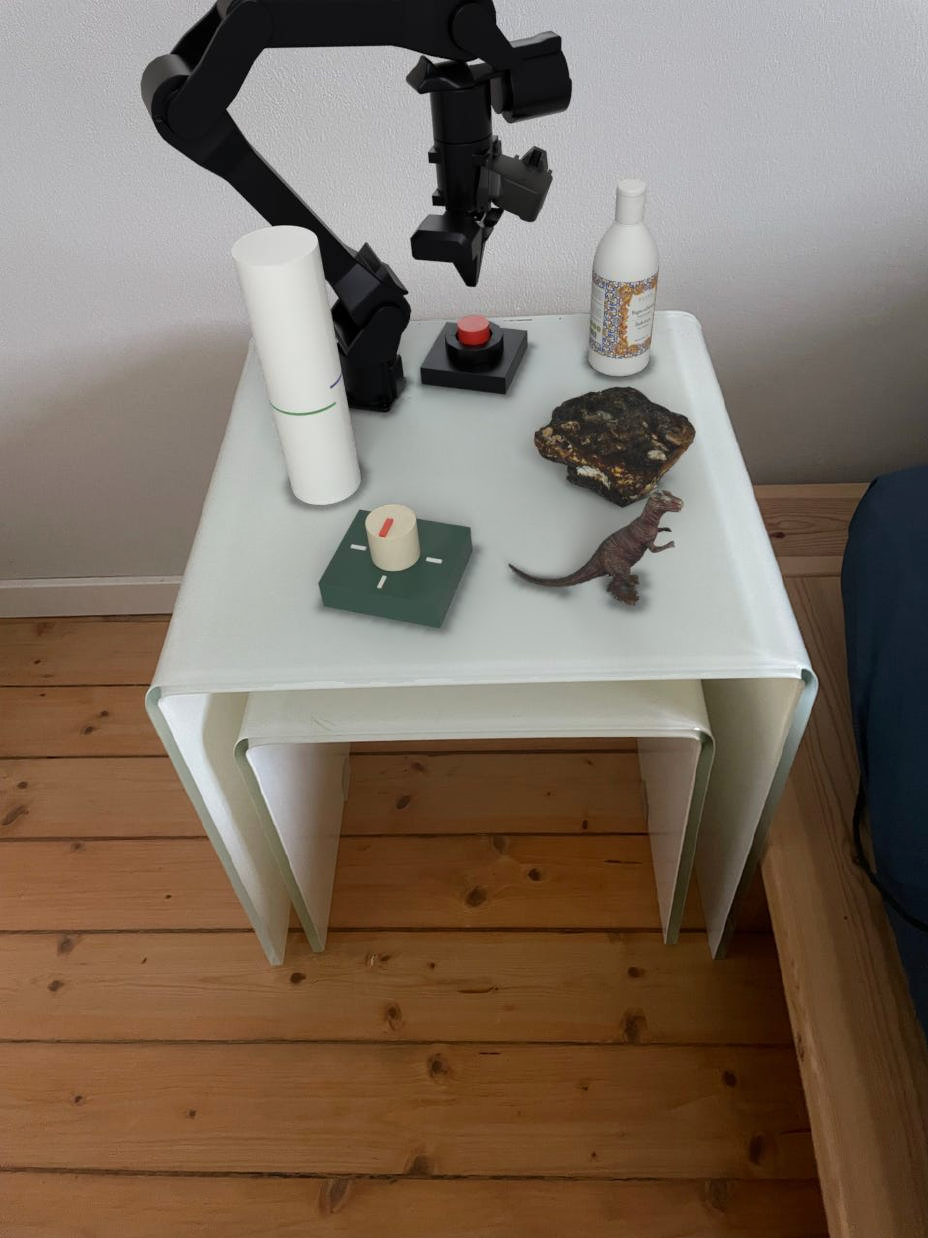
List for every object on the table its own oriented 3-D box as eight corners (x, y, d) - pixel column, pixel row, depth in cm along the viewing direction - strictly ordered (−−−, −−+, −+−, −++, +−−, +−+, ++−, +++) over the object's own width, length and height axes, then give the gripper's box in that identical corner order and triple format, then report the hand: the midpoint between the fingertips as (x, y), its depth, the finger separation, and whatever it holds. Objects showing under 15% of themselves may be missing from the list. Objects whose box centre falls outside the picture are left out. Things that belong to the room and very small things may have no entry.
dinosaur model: (685, 502, 70) (494, 499, 73) (676, 610, 79) (505, 604, 82) (685, 471, 73) (501, 469, 76) (677, 579, 81) (511, 574, 84)
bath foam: (614, 385, 102) (627, 206, 87) (575, 359, 106) (582, 183, 91) (661, 364, 104) (682, 185, 89) (622, 338, 108) (635, 163, 93)
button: (454, 343, 103) (453, 329, 102) (463, 327, 105) (462, 313, 104) (484, 347, 102) (484, 333, 101) (493, 330, 104) (493, 316, 103)
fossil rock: (594, 409, 99) (597, 362, 95) (706, 456, 93) (714, 409, 88) (515, 476, 92) (514, 430, 88) (629, 532, 86) (634, 485, 82)
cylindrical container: (373, 469, 95) (333, 232, 76) (338, 511, 90) (288, 272, 72) (314, 454, 97) (262, 220, 78) (278, 495, 93) (214, 258, 74)
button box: (421, 384, 104) (418, 353, 101) (447, 337, 111) (445, 307, 108) (505, 394, 102) (504, 363, 99) (527, 346, 108) (527, 316, 105)
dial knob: (381, 533, 83) (375, 497, 80) (426, 541, 82) (422, 505, 79) (364, 567, 81) (357, 531, 77) (411, 575, 80) (406, 538, 76)
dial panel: (323, 606, 82) (317, 581, 79) (363, 532, 88) (358, 507, 86) (439, 628, 79) (436, 603, 77) (472, 550, 86) (470, 525, 83)
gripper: (519, 178, 80) (522, 338, 91) (566, 99, 91) (563, 250, 103) (400, 171, 82) (417, 327, 94) (460, 95, 94) (469, 242, 106)
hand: (472, 285), depth 99 cm, fingers closed
